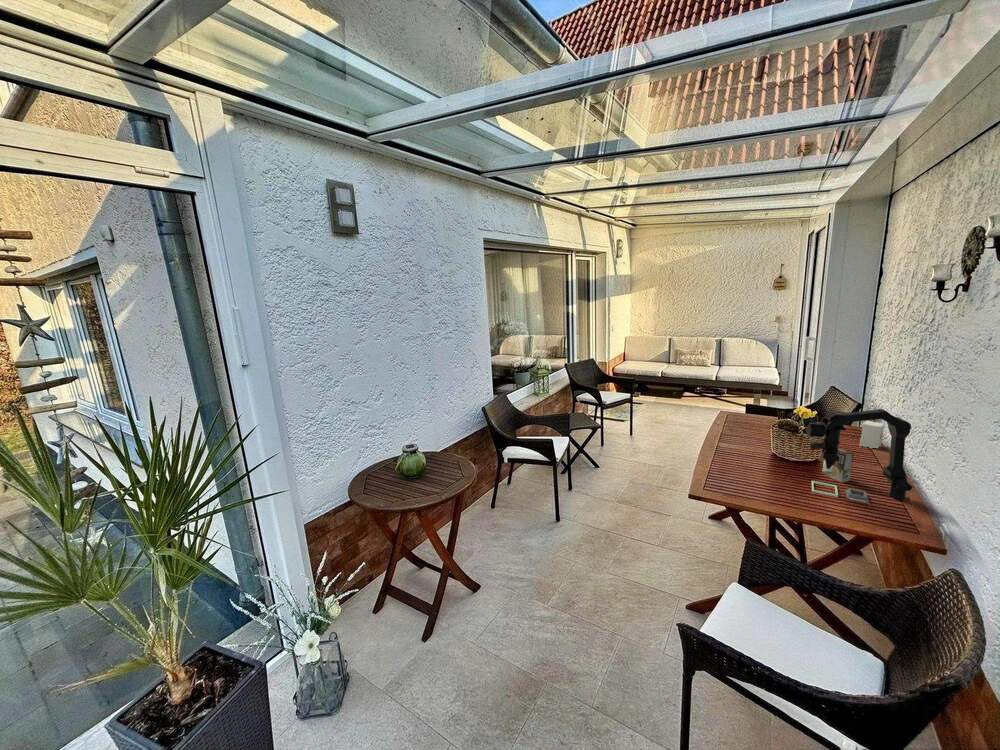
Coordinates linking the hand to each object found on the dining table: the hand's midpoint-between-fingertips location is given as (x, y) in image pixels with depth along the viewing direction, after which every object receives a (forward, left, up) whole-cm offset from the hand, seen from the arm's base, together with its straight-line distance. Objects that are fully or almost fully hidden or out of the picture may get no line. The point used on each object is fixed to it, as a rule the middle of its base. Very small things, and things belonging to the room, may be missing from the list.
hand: (827, 467), depth 205 cm
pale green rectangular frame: (0, 0, -13) cm, 13 cm away
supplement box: (-84, +26, -13) cm, 89 cm away
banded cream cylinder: (0, 0, -3) cm, 3 cm away
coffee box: (-19, +6, -13) cm, 24 cm away
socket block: (0, +12, -13) cm, 18 cm away
